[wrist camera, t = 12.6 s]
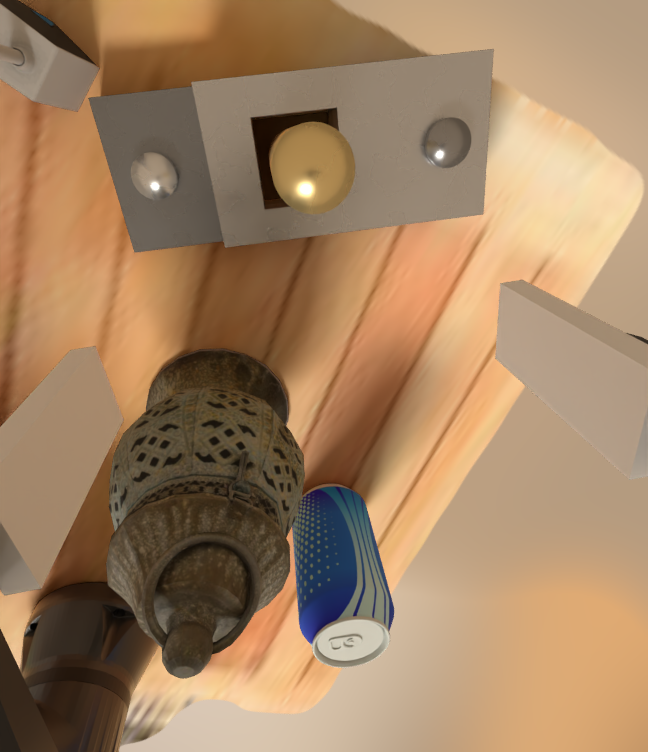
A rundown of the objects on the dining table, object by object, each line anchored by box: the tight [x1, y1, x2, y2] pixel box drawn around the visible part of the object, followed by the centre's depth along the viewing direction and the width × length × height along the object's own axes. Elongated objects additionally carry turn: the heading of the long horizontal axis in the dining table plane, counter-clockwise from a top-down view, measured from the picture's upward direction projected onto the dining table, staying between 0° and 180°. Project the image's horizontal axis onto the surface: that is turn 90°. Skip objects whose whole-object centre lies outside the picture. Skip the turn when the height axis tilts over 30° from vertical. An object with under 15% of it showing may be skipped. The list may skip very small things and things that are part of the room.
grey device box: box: [89, 49, 494, 252], centre depth 32 cm, size 26×10×6 cm, turn 96°
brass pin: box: [269, 122, 355, 214], centre depth 28 cm, size 4×4×15 cm
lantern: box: [106, 349, 305, 678], centre depth 33 cm, size 14×14×25 cm
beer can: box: [292, 484, 394, 668], centre depth 45 cm, size 8×8×16 cm
